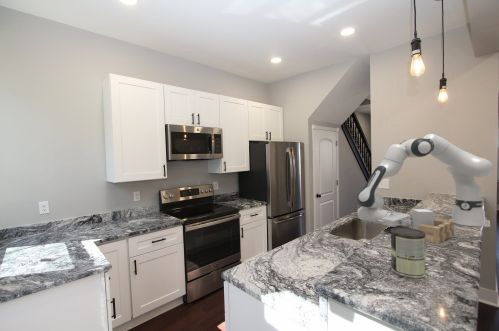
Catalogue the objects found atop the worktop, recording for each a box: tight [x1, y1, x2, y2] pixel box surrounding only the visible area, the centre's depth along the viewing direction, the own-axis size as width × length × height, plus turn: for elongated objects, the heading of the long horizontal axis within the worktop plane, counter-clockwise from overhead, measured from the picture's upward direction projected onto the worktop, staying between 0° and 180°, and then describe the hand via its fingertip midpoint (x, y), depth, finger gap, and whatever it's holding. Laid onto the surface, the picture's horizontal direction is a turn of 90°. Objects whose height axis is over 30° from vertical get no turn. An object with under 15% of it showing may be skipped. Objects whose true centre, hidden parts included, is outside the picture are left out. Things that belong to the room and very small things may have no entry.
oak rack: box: [418, 218, 455, 245], centre depth 124 cm, size 21×8×7 cm, turn 126°
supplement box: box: [411, 208, 435, 230], centre depth 129 cm, size 7×7×13 cm
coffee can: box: [390, 227, 427, 279], centre depth 87 cm, size 10×10×14 cm
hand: (412, 222), depth 133 cm, fingers closed, pressing on supplement box
